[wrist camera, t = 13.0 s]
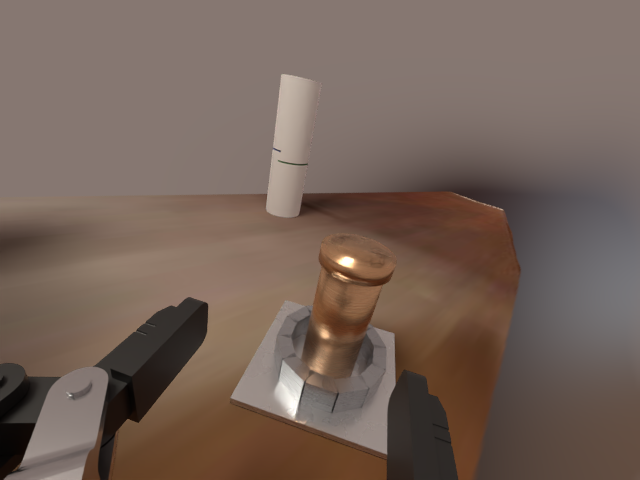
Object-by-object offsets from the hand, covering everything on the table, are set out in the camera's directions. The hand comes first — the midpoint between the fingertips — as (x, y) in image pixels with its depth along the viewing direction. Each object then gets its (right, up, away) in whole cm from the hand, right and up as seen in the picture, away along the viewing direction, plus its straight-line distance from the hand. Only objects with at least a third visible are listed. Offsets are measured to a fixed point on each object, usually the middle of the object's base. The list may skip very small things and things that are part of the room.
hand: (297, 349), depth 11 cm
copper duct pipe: (+2, -7, +16) cm, 17 cm away
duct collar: (+1, -8, +16) cm, 18 cm away
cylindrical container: (-7, +10, +49) cm, 51 cm away
